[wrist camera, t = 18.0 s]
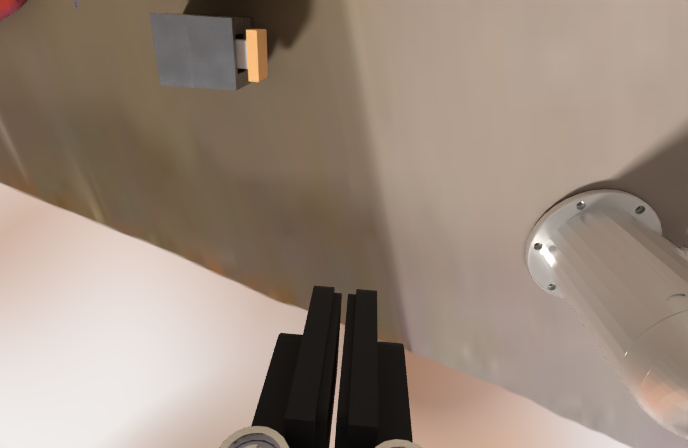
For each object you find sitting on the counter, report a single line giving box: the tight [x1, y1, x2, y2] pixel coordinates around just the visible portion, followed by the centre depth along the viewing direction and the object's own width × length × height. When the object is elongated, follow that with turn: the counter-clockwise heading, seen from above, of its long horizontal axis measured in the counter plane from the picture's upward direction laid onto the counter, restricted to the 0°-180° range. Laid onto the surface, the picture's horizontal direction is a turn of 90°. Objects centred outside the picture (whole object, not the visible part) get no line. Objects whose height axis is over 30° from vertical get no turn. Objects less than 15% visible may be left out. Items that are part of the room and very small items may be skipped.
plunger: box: [235, 29, 268, 82], centre depth 32 cm, size 5×4×3 cm
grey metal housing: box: [150, 13, 253, 90], centre depth 33 cm, size 6×5×6 cm
